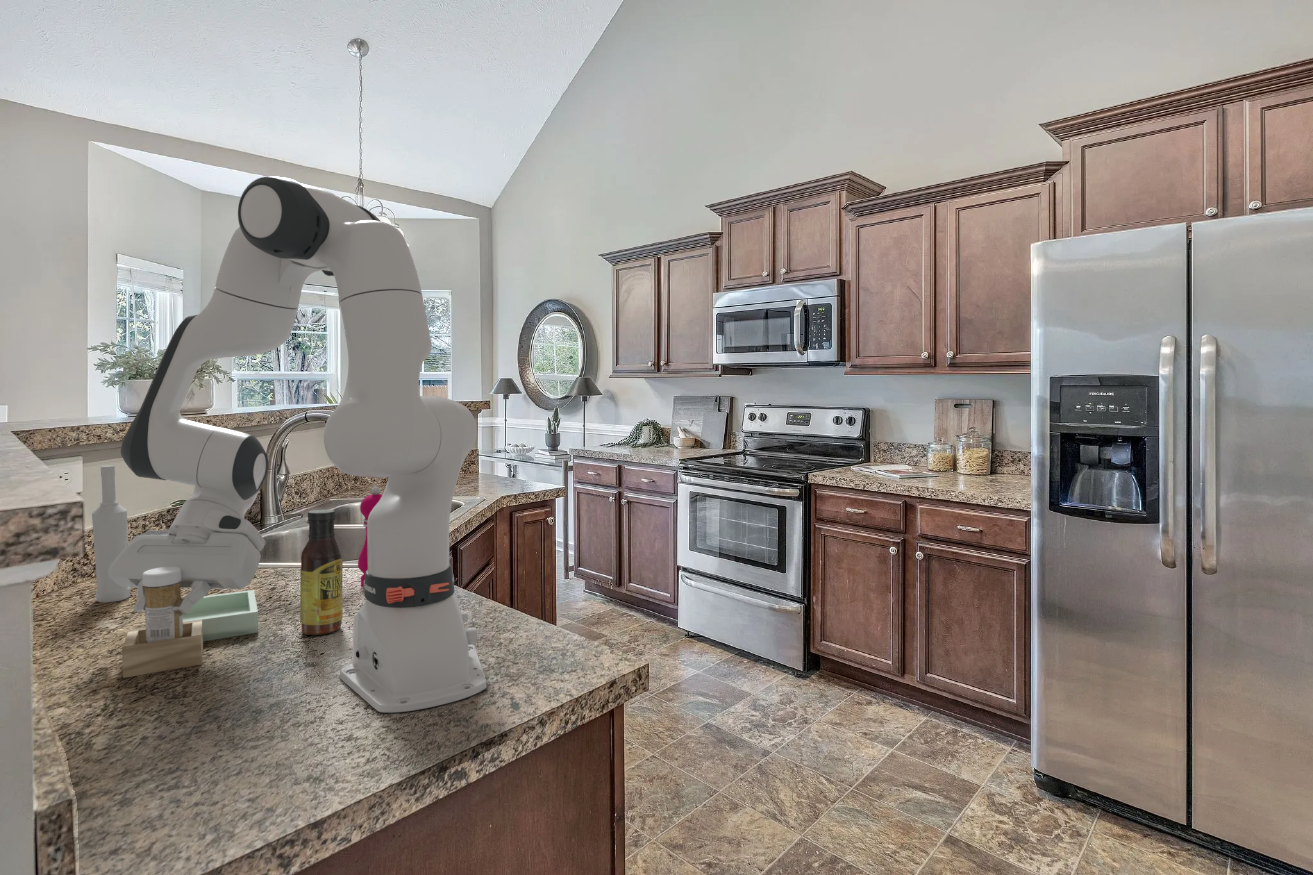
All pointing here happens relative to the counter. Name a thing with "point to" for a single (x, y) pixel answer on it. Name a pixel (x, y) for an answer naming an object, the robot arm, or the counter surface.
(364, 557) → the pepper mill
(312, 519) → the sauce bottle
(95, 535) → the bottle
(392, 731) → the counter surface
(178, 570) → the sprinkles bottle
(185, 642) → the maple holder
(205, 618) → the sage tray
